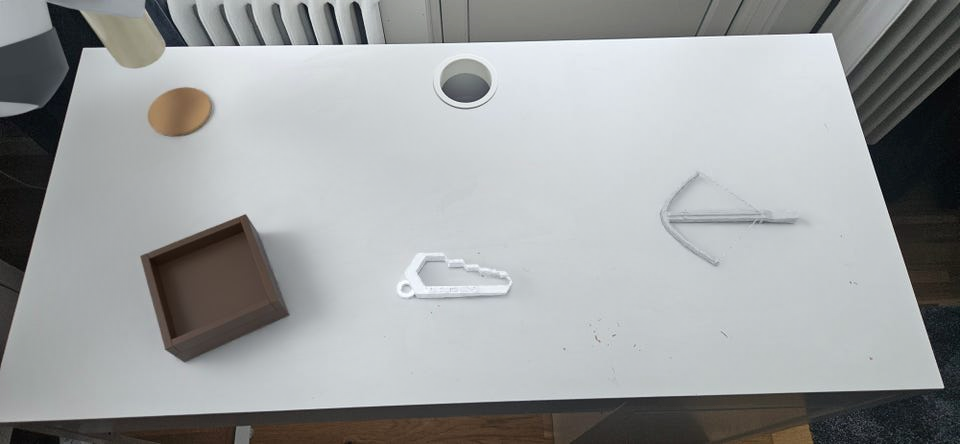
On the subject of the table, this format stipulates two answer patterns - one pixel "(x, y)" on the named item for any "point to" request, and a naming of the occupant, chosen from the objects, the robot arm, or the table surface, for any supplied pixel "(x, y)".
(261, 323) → the tray
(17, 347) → the table surface
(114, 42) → the cylindrical canister
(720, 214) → the crossbow
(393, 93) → the table surface
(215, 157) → the table surface
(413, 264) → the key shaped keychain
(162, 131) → the coaster
